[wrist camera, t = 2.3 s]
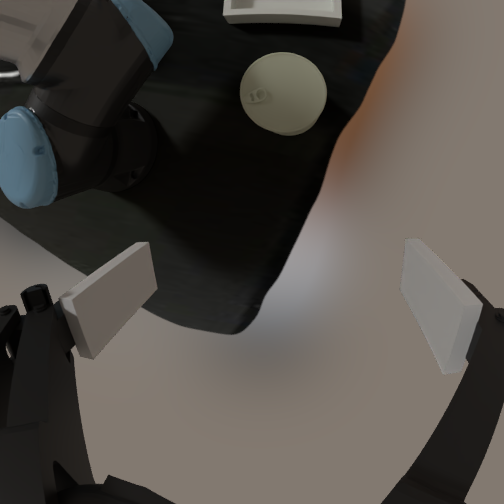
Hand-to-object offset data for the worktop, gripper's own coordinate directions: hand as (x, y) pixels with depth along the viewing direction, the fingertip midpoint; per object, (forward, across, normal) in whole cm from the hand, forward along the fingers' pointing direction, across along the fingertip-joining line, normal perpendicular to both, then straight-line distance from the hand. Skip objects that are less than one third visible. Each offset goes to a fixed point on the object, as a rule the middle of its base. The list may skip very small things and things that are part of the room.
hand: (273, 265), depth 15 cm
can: (+31, 0, +12) cm, 33 cm away
